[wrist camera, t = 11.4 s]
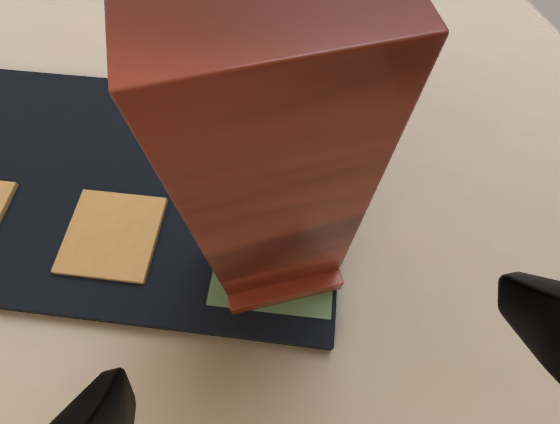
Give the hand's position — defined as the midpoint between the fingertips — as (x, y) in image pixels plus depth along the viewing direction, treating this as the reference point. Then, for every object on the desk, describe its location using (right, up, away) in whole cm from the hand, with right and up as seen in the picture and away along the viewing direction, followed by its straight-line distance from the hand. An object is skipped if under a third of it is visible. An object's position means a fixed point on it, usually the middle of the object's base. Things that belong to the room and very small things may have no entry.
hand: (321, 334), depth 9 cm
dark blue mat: (-10, +4, +12) cm, 16 cm away
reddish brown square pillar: (-1, +1, +9) cm, 9 cm away
